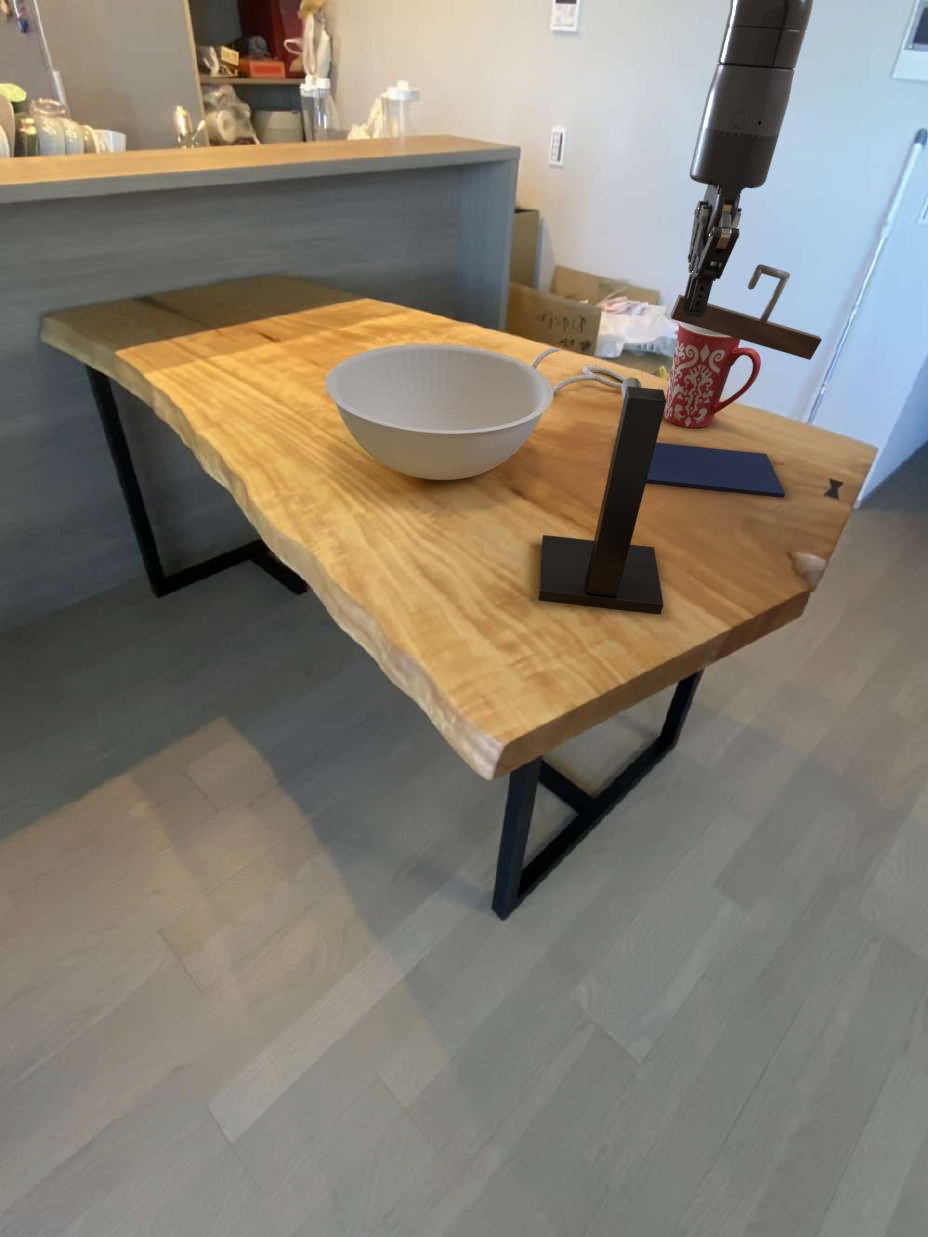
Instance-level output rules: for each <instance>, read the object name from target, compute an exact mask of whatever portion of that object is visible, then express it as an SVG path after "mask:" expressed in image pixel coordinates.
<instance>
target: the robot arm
mask: <svg viewBox="0 0 928 1237" xmlns="http://www.w3.org/2000/svg"><path fill="white" fill-rule="evenodd" d="M729 2H730V3H729V11H728V15H727V20H726V23H725V27H724V32H723V35H722V41H721V44H720V49H719V53H718V57H717V64H716V66H715V70H714V72H713V76H712V79H711V81H710V84H709V88H708V91H707V94H706V99H705V103H704V107H703V111H702V116H701V120H700V125H699V128H698V134H697V138H696V142H695V147H694V150H693V155H692V160H691V164H690V168H689V177H690V179H691V180H692V181H694V182H696V183H698V184H703V185H707V187H706V189H705V193H704V195H703V196H704V197H703V199H702V200H698V202H697V204H696V208H694V212H693V215H694V219H693V224H692V230H691V238H690V243H689V244H690V245H689V251H688V255H687V263H688V267H687V269H688V273H689V275H688V279H687V283H686V287H685V291H684V295H683V296H686V297H687V300H686V304H685V308H684V312H685V314H686V315H687V316H695V317H701V316H703V315H704V313H705V310H706V306H707V303H709V298H710V295H711V291H712V288H713V283H714V282H716V281H717V280H721V277H722V275H723V274H724V271H725V269H726V266H727V263H728V262H729V259H730V257H731V255H732V253H733V250H734V248H735V245H736V244H737V242H738V240H739V239H740V238H739V237H740V228H739V227H738V226H739V224H740V221H741V216H742V212H743V209H742V207H739V206H740V201H741V194H742V191H743V190H744V189H757V188H760V187H762V186H763V185H764V184H765V183H766V181H767V178H768V175H769V171H770V168H771V164H772V161H773V157H774V154H775V150H776V147H777V144H778V140H779V136H780V134H781V133H780V132H781V130H782V126H783V122H784V120H785V119H784V118H785V115H786V112H787V109H788V105H789V101H790V97H791V92H792V91H791V90H792V84H793V80H794V75H795V71H796V67H797V64H798V61H799V56H800V54H801V50H802V46H803V42H804V39H805V36H806V31H807V29H808V26H809V22H810V18H811V14H812V10H813V6H814V5H813V4H814V0H730V1H729Z"/></svg>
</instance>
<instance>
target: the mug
mask: <svg viewBox="0 0 928 1237" xmlns="http://www.w3.org/2000/svg"><path fill="white" fill-rule="evenodd" d="M677 324H678V330H677V336H676V341H675V347H674V351H673V358H672V363H671V370H670V373H669V378H668V383H667V389H666V395H665V398H666V406H665V410H664V414H663V417H664V419H665V420H666V421H668V422H670V423H671V424H673V425H677V426H679V427H684V428H692V429H693V428H694V429H699V428H700V429H701V428H706V427H708V426H710V425H711V424H712V423H713V421H714V419H715V415H716V414H717V413H719V412H720V411H723V409H726V408H727V407H728V406H730V405H731V404H733V403H734V402H735V401H736V400H738V399H739V398H740V397H742V396H743V395H744V394H745V393H746V392H747V391H748V390H749V389H750V388H751V387H752V386H753V384H754V383H755V381H756V380H757V379H758V378H757V377H758V376H759V373H760V370H761V365H762V361H761V360H762V359H761V356H760V354H759V352H758V351H757V350H755V349H754V348H751V347H739V346H740V343H741V341H742V340H741V339H737V338H734V337H731V336H727V335H724V334H721V333H717V332H714V331H711V330H707V329H704V328H700V327H697V326H694V325H690V324H687V323H684V322H680V321H678V323H677ZM742 356H746V357H748V358H750V360H751V363H752V369H751V374H750V375H749V377H748V380H747V381H746V383H745V384H744V385H743V386H742V387H741V388H740V389H739V390H737V391H736V392H734V393H733V395H731V396H730V397H728V398H727V399H725V400H723V401H720V400H721V397H722V394H723V391H724V389H725V386H726V383H727V381H728V377H729V375H730V371H731V368H732V366H734V365H735V364H736V362H737V361H738V359H739V358H740V357H742Z"/></svg>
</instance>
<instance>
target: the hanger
mask: <svg viewBox="0 0 928 1237" xmlns="http://www.w3.org/2000/svg"><path fill="white" fill-rule="evenodd" d="M762 274H763V275H767V276H769V277H772V278H776V279H779V281H778V282H777V285H776V287H775V289H774V290H773V292H772V294H771V297H770V299H769V300H768V302H767V304H766V307H765V308H764V310H763V312H762V314H761V316H760V318H759V317H756V316H753V315H749V314H746V313H743V312H739V311H736V310H733V309H729V308H727V307H726V308H725V307H722V306H719V305H716V304H713V303H710V302H708V303H707V306H706V310H705V313H704V315H703V316H701V317H695V316H687V315H686V314H685V312H684V308H685V304H686V300H687V297H686V296H684V295H682V294H678V296H677V298H676V301H675V303H674V305H673V307H672V310H671V312H670V316H669V317H670V319H671V320H674V321H678V322H679V321H680V322H684V323H687V324H690V325H694V326H697V327H700V328H704V329H707V330H711V331H714V332H717V333H721V334H724V335H727V336H731V337H734V338H737V339H741V340H740V341H745V342H748V343H752V344H755V345H758V346H761V347H765V348H768V349H771V350H775V351H778V352H781V353H785V354H788V355H792V356H795V357H799V358H801V359H806V360H808V361H811V360H812V358H813V356H814V354H815V353H816V351H817V350H818V348H819V346H820V344H821V343H822V340H823V339H822V338H821V337H820V336H819V335H816V334H813V333H809V332H806V331H802V330H800V329H796V328H792V327H789V326H786V325H782V324H780V323H775V322H773V321H769V318H770V316H771V315H772V312H774V308H775V307H776V305H777V303H778V301H779V299H780V297H781V295H782V293H783V291H784V289H785V287H786V285H787V283H788V282H789V279H790V277H791V273H790V272H788V271H785V270H782V269H778V268H775V267H771V266H769V265H765V264H761V263H760V264H757V265H756V267H755V270H754V272H753V273H752V275H751V278H750V279H749V281H748V283H747V289H748V290H750V291H751V290H754V289H755V288H756V286H757V284H758V282H759V280H760V279H761V276H762Z"/></svg>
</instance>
